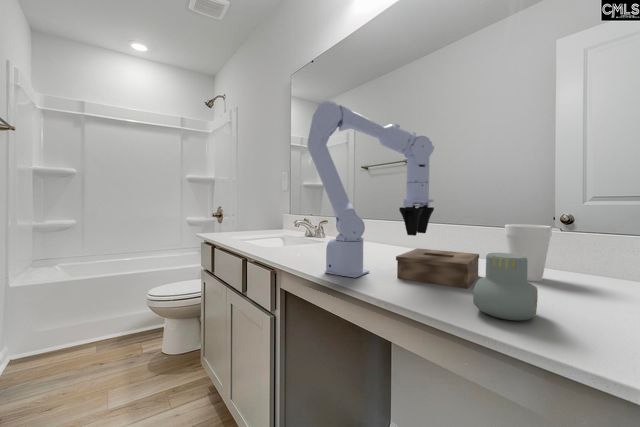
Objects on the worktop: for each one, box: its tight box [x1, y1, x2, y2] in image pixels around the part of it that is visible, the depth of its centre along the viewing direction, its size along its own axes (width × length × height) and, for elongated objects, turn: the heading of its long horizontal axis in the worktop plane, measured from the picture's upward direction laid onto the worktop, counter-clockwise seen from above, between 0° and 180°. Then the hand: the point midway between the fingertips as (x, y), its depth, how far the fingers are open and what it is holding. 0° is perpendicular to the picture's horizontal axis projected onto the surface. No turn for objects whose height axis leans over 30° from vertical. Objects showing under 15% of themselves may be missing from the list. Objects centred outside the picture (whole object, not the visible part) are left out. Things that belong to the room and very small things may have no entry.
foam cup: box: [504, 224, 552, 282], centre depth 75 cm, size 10×9×13 cm
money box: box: [395, 248, 480, 289], centre depth 76 cm, size 16×16×6 cm
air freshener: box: [472, 252, 538, 322], centre depth 50 cm, size 11×8×10 cm
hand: (416, 234), depth 80 cm, fingers open, 7 cm apart
